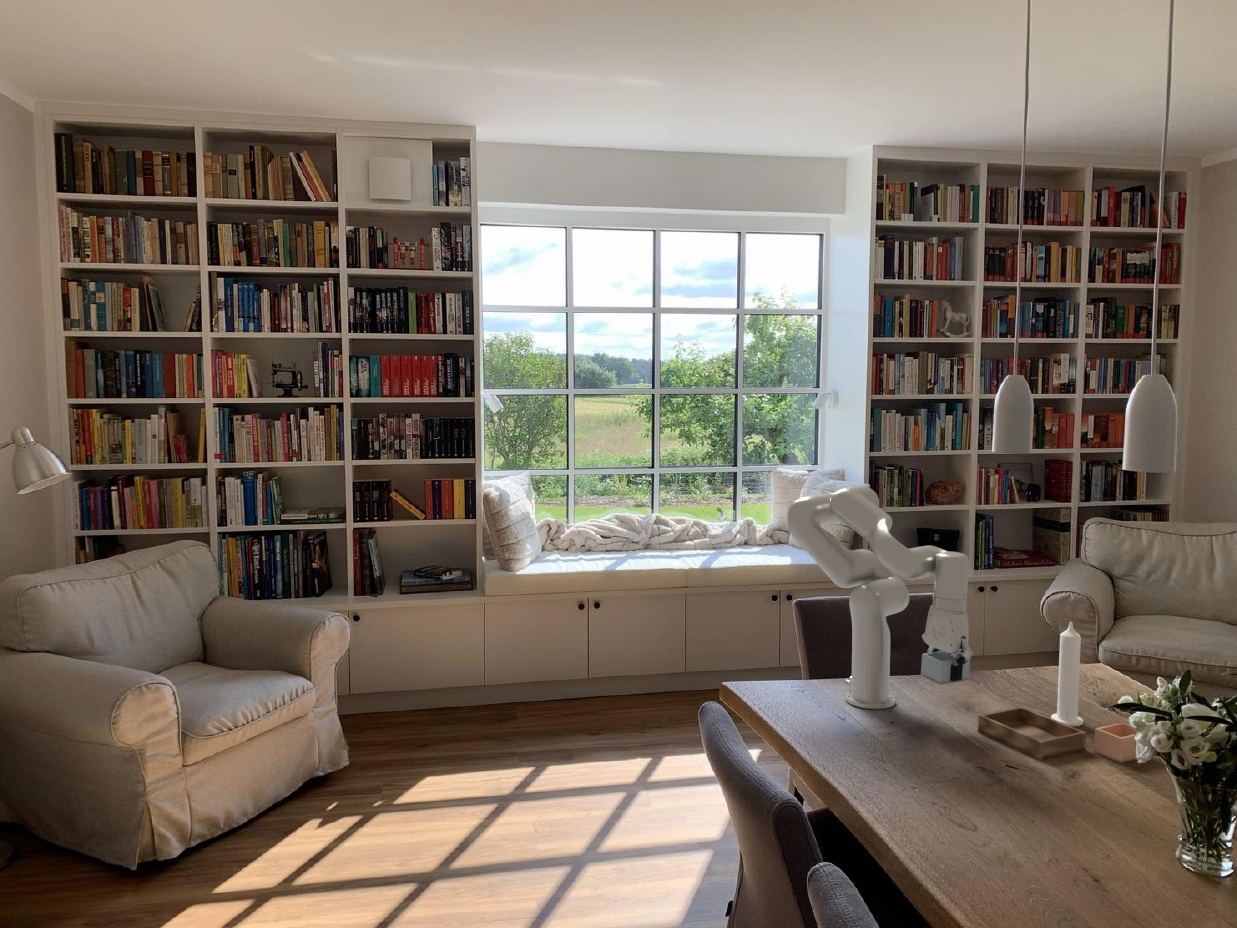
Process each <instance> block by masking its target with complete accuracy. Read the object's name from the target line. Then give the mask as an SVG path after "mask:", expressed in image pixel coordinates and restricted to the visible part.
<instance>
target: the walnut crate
mask: <svg viewBox="0 0 1237 928" xmlns="http://www.w3.org/2000/svg"><path fill="white" fill-rule="evenodd" d="M977 716H978V717H977V718H978V721H977V722H978V724H977V733H978V732H979V734H980V733H981V734H983V735H985V736H987V737H989V738H991V739H993V740H994V741H995V740H996V741H998V742H1000V743H1002V744H1004V745H1007V746H1009V747H1010V748H1011V747H1012V749H1013V748H1014V749H1015V750H1018V751H1019V752H1022V753H1024V754H1027V755H1028V756H1031V757H1033V758H1035V759H1037V760H1040V761H1043V760H1044V761H1045V760H1047V759H1051V758H1055V757H1060V756H1064V755H1069V754H1073V753H1077V751H1078V752H1081V751H1080V750H1082V751H1084V750H1083V749H1086V748H1087V747H1086V746H1087V744H1086V743H1087V732H1086V731H1084V730H1081V729H1079V728H1075V726H1069V725H1066V724H1064V723H1061V722H1059V721H1056V720H1054V719H1051V717H1049V716H1046V715H1043V714H1042V713H1039V712H1036V711H1034V710H1031V709H1028V708H1026V707H1023V706H1018V707H1012V708H1008V709H1003V710H999V711H993V712H988V713H983V714H978V715H977ZM1068 753H1069V754H1068Z"/></svg>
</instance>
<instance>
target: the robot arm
mask: <svg viewBox="0 0 1237 928" xmlns="http://www.w3.org/2000/svg"><path fill="white" fill-rule="evenodd" d="M878 496H879V495H877V493H876V491H874V490H873V489H872V488H871V487H868V486H863V485H859V486H850V487H844V488H841V489H838V490H836V491H834V492H830V493H829V492H828V493H823V494H822V493H821V494H814V495H807V496H802V497H800V498H798V499H796V500H794V501H793V502H792V503H791V504H790V506H789V507H788V511H787V514H786V515H787V517H786V519H787V526H788V530H789V532H790V533H791V536H792V537H793V539H794V541H796V543H797V544H798V545H799V547H801V548H802V549H804V550H803V551H805V552H806V553H807V554H808V555H809V556H810V557H811V558H812V560H814V562H815V563H816V564H817V565H818V566H819V567H820V568H821V570H822V571H823V572H824V573H825V574H826V576H827V577H829V579H830V580H831V581H832V582H833V583H834V584H835V585H836V586H837V587H839V588H843V589H851V588H853V590H852V592H851V593H850V596H849V600H848V601H849V602H848V603H849V611H850V617H851V626H852V627H851V629H852V631H851V634H852V635H851V636H852V638H851V640H852V641H851V643H852V644H851V647H852V648H851V649H852V650H851V676H849V677H848V679H845V680H844V684H845V685H846V686H848V687H849V690H848V691H847V692H845V695H844V699H845V702H847V703H848V704H850V705H852V706H855V707H857V708H862V709H868V710H885V709H889V708H892V707H893V706H894V705H895V704H896V698H895V697H894V696H893V695H892V694H890V670H891V669H890V667H891V664H890V663H891V631H890V627H889V625H888V623H887V617H888V616H891V615H894V614H898V613H901V612H902V611H904V610H905V609H906V608H907V606H908V605H909V603H910V594H909V590H908V587H907V586H906V584H905V583H904V581H903V580H907V581H915V580H919V579H923V578H924V579H925V578H928V577H929V578H930V577H934V580H933V583H934V584H933V594H932V596H931V597H932V604H931V605H930V607H929V610H928V614H927V619H926V625H925V632H924V633H922V635H921V637H922V640H923V642H924V643H925V644H924V646H925V648H926V649H927V650H926V651H927V652H926V653H931V652H938V651H943V652H945V653H948V654H951V657H952V661H953V665H951V675H950V680H951V681H959V680H962V671H963V665H965V663H966V662H967V661H968V660H969V659H970V660H971V658H972V657H973V656H974V651H972V648H971V647H970V646H969V637H970V636H969V617H968V612H967V602H968V600H967V598H968V584H969V572H970V571H969V568H970V560H969V557H968V556H967V555H966V554H965V553H962V552H957V551H948V550H945V549H942V548H940V547H937V546H935V545H924V546H923V545H922V546H917V547H911V548H908V547H906V546H905V545H904V544H902V543H901V542H900V541H898V540H897V539H896V538H895V537H894V536H893V535H892V534H891V532H890V531H891V529H892V526H893V518H892V516H891V515H889V514H888V513H886V512H885V511H884V510H882V509H881V508H880V500H879V497H878ZM842 522H843V523H844V524H845V525H847V526H848V527H849V528H850V529H852V530H853V531H855V532H856V533H857V534H859V535H860V536H861V537H862V538H864V540H866V541H868V543H869V546H870V548H871V550H868V549H863V548H860V549H853V550H851V549H848V547H846V546H845V545H844V544H842V542H841V541H839V539H838V538H837V537H836V536H835V534H832V533H831V532H829V531H827V530H826V529H825V528H823V527H822V526H825V525H826V526H827V525H831V524H837V523H842ZM902 579H903V580H902ZM956 654H958V656H959V658H958V659H957V655H956ZM959 682H960V681H959Z"/></svg>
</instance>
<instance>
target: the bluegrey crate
mask: <svg viewBox="0 0 1237 928" xmlns="http://www.w3.org/2000/svg"><path fill="white" fill-rule="evenodd" d="M956 655H957V659H958V658H959V656H958V654H956ZM951 665H953V661H952V657H951V654H948V653H945V652H943V651H938V652H931V653H927V652H925V653H922V654H921V669H920V676H921V677H923V678H925V679H928V680H930V681H931V682H934V683H936V684H938V685H945V684H951V683H952V684H953V683H958V682H963V681H970V671H971V668H970V667H971V658H970V659H969V660H968V661H967V662H966V663H965V665H963V671H962V680H959V681H951V680H950V675H951Z"/></svg>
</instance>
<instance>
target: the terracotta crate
mask: <svg viewBox="0 0 1237 928" xmlns="http://www.w3.org/2000/svg"><path fill="white" fill-rule="evenodd" d="M1135 734H1136V732H1135V731H1134V730H1133V729H1132V728H1131V727H1130V724H1128V723H1126V722H1117V723H1113V724H1109V725H1104V726H1100V727H1096V728H1094V743H1093V745H1094V746H1093V752H1094V754H1097V753H1099V754H1101V755H1100V756H1102V755H1103V756H1102V757H1104V756H1105V758H1107V759H1109V758H1111V759H1113V760H1112V761H1114V760H1115V761H1114V762H1116V761H1118V762H1117V763H1119V764H1123V763H1126V762H1125V761H1127V762H1131V761H1135V760H1136V759H1135V743H1134V736H1135ZM1099 754H1098V755H1099ZM1133 758H1134V760H1132V759H1133ZM1111 759H1110V760H1111ZM1130 760H1131V761H1130ZM1122 762H1123V763H1122Z"/></svg>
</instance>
